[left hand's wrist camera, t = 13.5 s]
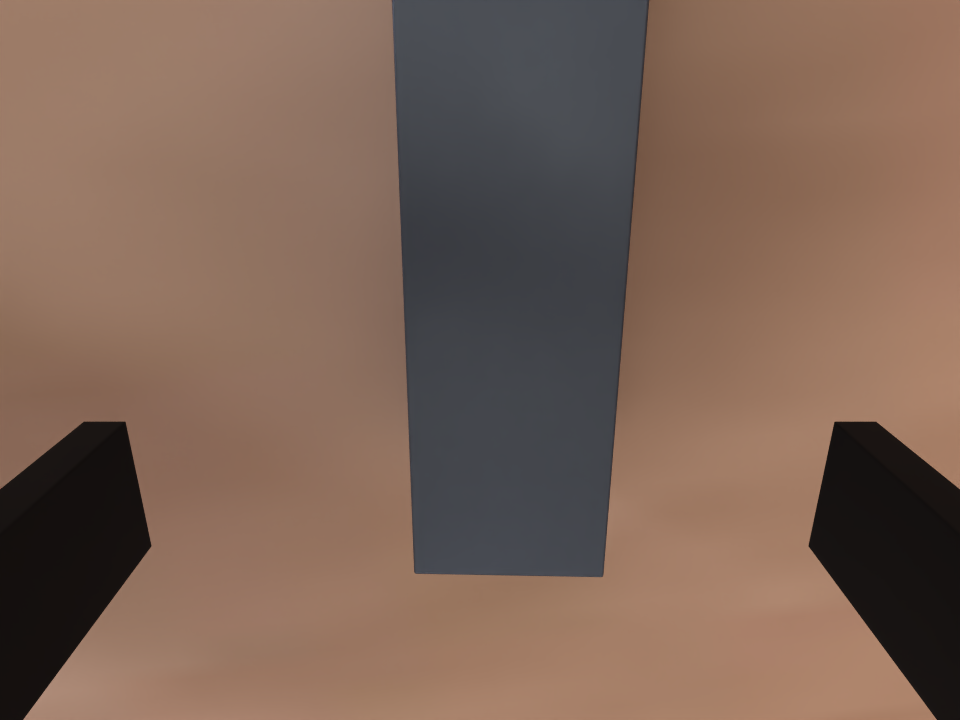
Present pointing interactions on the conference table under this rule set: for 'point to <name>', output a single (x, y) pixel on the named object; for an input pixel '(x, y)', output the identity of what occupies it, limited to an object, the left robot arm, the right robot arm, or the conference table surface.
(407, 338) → the bar
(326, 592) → the conference table surface
